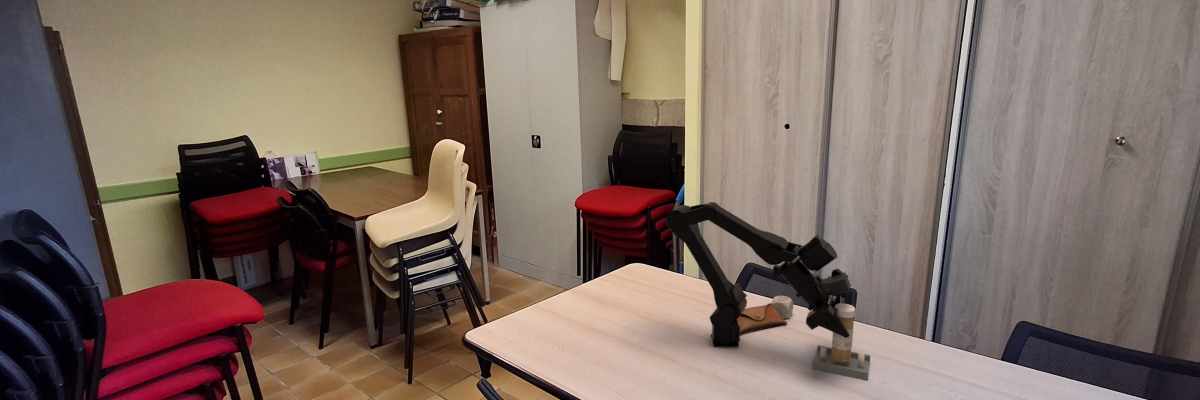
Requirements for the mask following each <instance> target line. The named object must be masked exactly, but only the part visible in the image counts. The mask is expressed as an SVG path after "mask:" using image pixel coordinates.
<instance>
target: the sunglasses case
mask: <svg viewBox="0 0 1200 400" xmlns="http://www.w3.org/2000/svg"><path fill="white" fill-rule="evenodd" d="M771 304H772V302H770V303H767V304H764V305H759V306H753V307H748V308H745V309H744V311H743V312H742V314H741V315H740V316H739V318H738V319H737V321H738V324H739V326H740V335H741V334H746V333H750V332H754V331H759V330H763V329H769V328H774V327H778V326H782V325H784V324H788V321H786V320H785V319H783V318H782V317H781V315H780V314H779V313H778V312H777V310H776V309H775V308H774V307H773V306H772V305H771Z"/></svg>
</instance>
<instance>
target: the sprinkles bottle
mask: <svg viewBox="0 0 1200 400" xmlns="http://www.w3.org/2000/svg"><path fill="white" fill-rule="evenodd" d="M836 308H838V311H837V317H838V318H839V320H840V321H841V322H842V324H843V325H844V327H845V328H846V330H847V331H848V333H849V335H850V336H849V337H847V338H845V337H843V336H841V335H839V334H836V333H834V332H832V337H831V339H832V340H831V345H832V346H831V348H832V353H831V358H833V359H834V360H835V361H838V362H849V361H850V360H851V351H852V347H853V339H854V321H855V320H854V319H855V316H856V308H855V306H853V305H851V304H849V303H841V304H836V305H835V307H834V309H836Z"/></svg>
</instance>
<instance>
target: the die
mask: <svg viewBox="0 0 1200 400" xmlns="http://www.w3.org/2000/svg"><path fill="white" fill-rule="evenodd" d="M771 303H772V304H771V305H772V306H773V307H774V308H775V309H776V310H777V312H778V313H779V314H780V315H781V317H782V318H783V319H784V320H785V319H789V318H791V316H792V315H793V313H794V312H793V310H794V301H793V300H792V298H790V297H789V296H786V295H776V296H774V297H773V298H772V301H771Z"/></svg>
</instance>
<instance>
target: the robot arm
mask: <svg viewBox="0 0 1200 400" xmlns="http://www.w3.org/2000/svg"><path fill="white" fill-rule="evenodd" d="M702 222H711V223H712V224H714V225H716V226H717V227H719V228H721V229H722V230H723V231H725V232H727V233H728V234H730V235H732V236H734V237H735V238H736V239H738V240H740V241H741V242H743V243H745V244H746V245H748V246H749V247H750V248H751V249H752V251H753V252H754V253H755V255H757V256H758V257H759V258H760V259H762V261H764V263H766V264H768V265H770V266H773V267H772V270H773V271H772V279H773V280H775V279H776V278H778V277H780V276H782V277H783V279H785V280H786V282H787V283H788V284H789V285H790V286H791V287H792V288H793V289H794V291H795V296H796V298H799V297H800V298H801V299H803V301H804V302H805V303H806V304H807V311H809V312H807V316H806V318H805V325H806V326H807V327H808V328H809V329H810V330H811V331H812V330H815V329H816V328H819V327H821V328H823V329H826V330H828V331H831V332H832V333H833V332H834V333H836V334H839V335H841V336H843V337H845V338H847V337H849V336H850V335H849V333H848V331H847V330H846V328H845V327H844V325H843V324H842V322H841V321H840V320H839V318H838V317H837V311H838V308H836V309H834V307H835V305H836V304H842V303H841V302H842V294H845V293H846V294H847V293H848V292H850V290H851V287H852V285H851V283H850V280H849V275H848V274H847V273H846V271H844V272H843V271H842V270H841V269H840V268H835V269H832V271H831V273H830V274H831V276H830V275H829V276H827V277H826V278H822V276H820V275H818V274H816V275H815V274H814V273H813V271H815V272H820V271H821V269H823V268H825V267H826V266H827V265H829V264H831V262H833V261H835V260H837V258H838V254H837V252H836V250H835V248H834V247H833V246H832V244H831V243H830V242H828V241H826V240H825V239H823V238H821V237H820V236H819V235H818V234H816V235H815V236H813V237H812V238H811V239H810V240H809V241H808V242H807V243H805V244H804V245H801V244H800V243H799V244H798V243H794V242H791V241H787V238H785V237H783V236H781V235H778V234H775V233H772V232H769V231H765V230H761V229H759V228H757V227H755V226H753V225H752V224H750V223H748V222H747V221H745V220H743V219H741V218H740V217H738V216H736V215H735V214H733V213H731V212H730V211H728V210H727V209H725V208H724V207H721V206H720V205H719V204H718V203H717V202H714V201H710V202H708V203H703V204H696V205H687V204H681V205H679V206H677V207H675V208H674V209H672V210H670V211H669V212H668V213H667V215H666V218H665V224H666V226H667V228H669V230H670V231H671V232H672V233H673V235H674V236H675V237H677V238H678V239H679V240H680V241H682V242H683V243H684V244H685V245H686V247H687V248H688V251H689V252H690V253H691V256H692V258H693V259H694V261H695V262H696V264H697V266H698V267H699V269H700V270H701V272H702V274H703V275H704V278H705V279H706V281H707V283H708V284H709V286H710V287H711V290H712V291H713V298H714V302H715V306H716V308H715V310H714V311H713V312H712V313H711V315H710V316H709V320H710V324H711V334H710V338H711V341H712V346H713V347H714V348H715V347H716V348H719V347H720V348H738V347H739V346H740V345H739V342H740V340H741V339H740V337H741V334H740V326H739V324H738V321H737V319H738V318H739V316H740V315H741V314H742V312H743V311H744V309H747V308H746V307H747V304H748V301H747V298H746V297H748V295H747V293H746V292H744V290H743V287H742V286H741V284H740V282H737V283H735V284H733V283H732V282H731V281H730V280H729V279H728V278H727V276H726V275H725V272H723V270H722V268H721V266H720V264H719V262H718V261H717V260H716V257H715V256H714V254H713V252H712V251H711V249H710V248H709V246H708V244H707V242H706V240H705V239H704V238H703V235H702V233H701V230H700V226H699V225H700V224H699V223H702ZM841 293H842V294H841ZM837 294H838V296H835V295H837ZM839 294H840V295H839Z"/></svg>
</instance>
